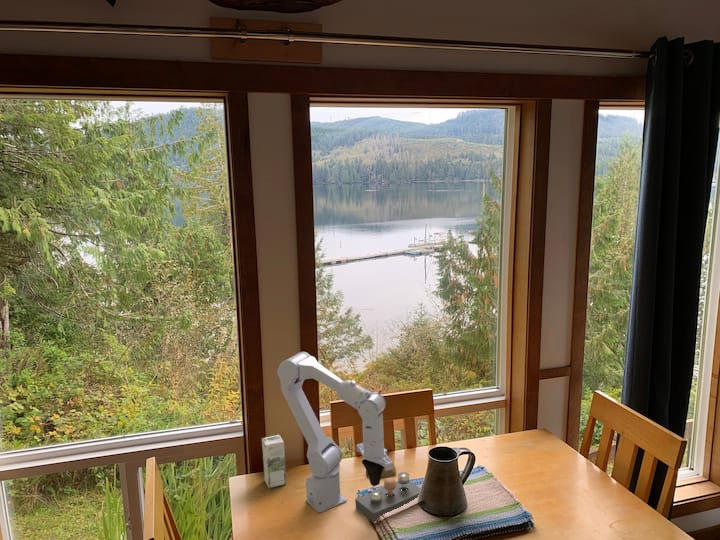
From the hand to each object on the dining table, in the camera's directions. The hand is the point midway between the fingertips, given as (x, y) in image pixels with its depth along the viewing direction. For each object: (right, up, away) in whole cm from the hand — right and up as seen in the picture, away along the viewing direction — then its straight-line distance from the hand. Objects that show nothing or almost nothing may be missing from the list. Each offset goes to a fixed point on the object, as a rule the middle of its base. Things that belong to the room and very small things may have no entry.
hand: (375, 484), depth 148 cm
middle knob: (+4, -5, +3) cm, 7 cm away
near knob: (0, -7, +1) cm, 8 cm away
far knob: (+9, -4, +6) cm, 11 cm away
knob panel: (+5, -7, +4) cm, 9 cm away
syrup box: (-31, -7, +19) cm, 37 cm away
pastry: (+3, -6, +22) cm, 23 cm away
